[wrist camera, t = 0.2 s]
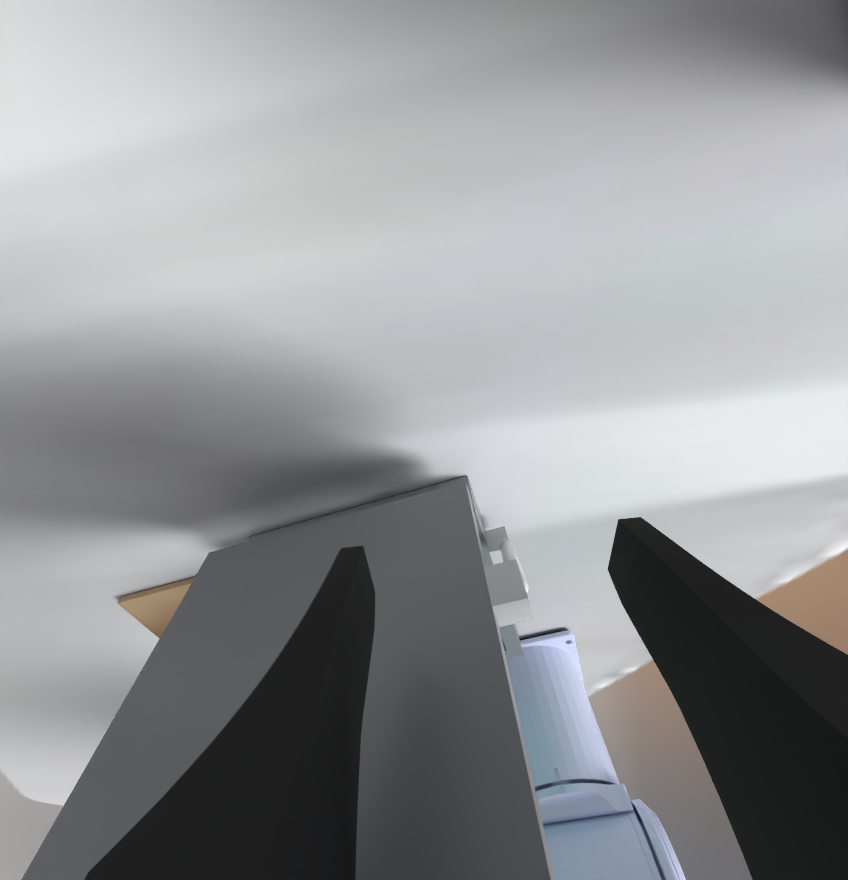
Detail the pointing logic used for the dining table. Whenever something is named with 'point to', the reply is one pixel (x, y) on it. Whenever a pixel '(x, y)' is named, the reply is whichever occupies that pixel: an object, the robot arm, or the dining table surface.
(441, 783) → the grey bracket
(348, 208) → the dining table surface
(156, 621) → the tan pad
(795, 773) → the robot arm
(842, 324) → the dining table surface
